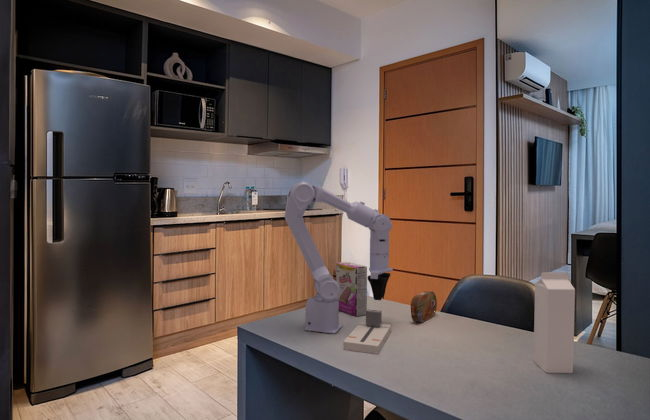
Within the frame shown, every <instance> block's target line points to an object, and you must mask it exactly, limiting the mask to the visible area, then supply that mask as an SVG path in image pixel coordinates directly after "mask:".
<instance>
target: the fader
mask: <svg viewBox="0 0 650 420" xmlns="http://www.w3.org/2000/svg"><path fill="white" fill-rule="evenodd" d="M382 312H383V311H382V310H377V309H376V310H375V309H367V311H366V315H365V322H366V326H374V327H380V326H381V324H382Z"/></svg>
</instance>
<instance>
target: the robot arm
mask: <svg viewBox="0 0 650 420" xmlns="http://www.w3.org/2000/svg"><path fill="white" fill-rule="evenodd" d="M311 203H324V204H326V205H329V206H331V207H333V208H336V209H337V210H339V211H342V212H344V213H346V216H347V219H349V220H350V221H351V222H354V223H355V224H358V225H360V226H363V227H364V228H367V229H369V230H370V231H369V233H370V234H369V235H370V237H369V268H368V269H369V270H368V271H369V272H370V275H367V282H369V285H370V287H371V292H372V293H371V294H372V296H373V300H374V301H382V298H384V297H385V294H386V288H387V285H388V281H389V279H390V278H391V272H393V270H394V268H392V267H390V231H392V228H393V223H392V220H391V218H390V217H389V216H388V215H386V214H384V213H379V210H378V209H376V208H375V209H373V208H371V207H369V206H367V205H365V204H366V203H365V202H363V201H354V202H349V201H347V200H345V199H344V198H342V197H340V196H338V195H336V194H334V193H333V192H331V191H329V190H327V189H325V188H324V187H320V186H318V185H314V184H311V183H309V182H307V181H301V182H297V183H295V184H294V185H292V186H291V187H290V189H289V191H288V193H287V196H286V205H285V212H284V219H285V221H286V223H287V225H288V227H289V230H290V231H291V234H292V236H293V238H294V240H295V242H296V244H297V246H298V248H299V250H300V252H301V254H302V257H303V259H304V261H305V263H306V265H307V267H308V269H309V271H310V273H311V277H312V278H313V287H314V289H315V291H316V294H315V295H314V296H313V297H308V299H307V300H306V304H305V328H304V330H305V331H308V332H309V331H310V332H319V333H325V334H336V333H337V332H339V330H341V329H342V327H343V326H344V324H343V323H339V321H340V319H339V315H340V312H339V297H338V295H339V293H340V286H339V284H338V282H337V281H336V279H334V277H333V276H332V275H331V272H329V270H328V268H327V266H326V265H325V262H324V260H323V258H322V255H321V254H320V252H319V250H318V247H317V246H316V244H315V241H314V239H313V237H312V235H311V233H310V231H309V229H308V227H307V224H306V222H305V221H304V219H303V217H304V215H305V212H306V211H307V207H308V206H310V204H311Z"/></svg>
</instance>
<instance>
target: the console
mask: <svg viewBox="0 0 650 420" xmlns="http://www.w3.org/2000/svg"><path fill="white" fill-rule="evenodd" d="M391 332H392V324H388V323H381V326H380V327H374V326H366V321H360V322H359V323H358V325H356V327H355V328H354V329H353V330H352V332H350V334H349V335H347V337H346V338H345V339H344V340H343V341H342V342H343V343H342V345H343V346H342V348H343V350H345V351H351V352H352V351H353V352H360V353H367V354H375V355H378V354H379V353H380V352H381V350H382V348H383V346H384V345H385V343H386V342H387V340H388V338H389V336H390V334H391Z"/></svg>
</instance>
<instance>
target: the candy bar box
mask: <svg viewBox="0 0 650 420" xmlns="http://www.w3.org/2000/svg"><path fill="white" fill-rule="evenodd" d="M367 277H368V266H366V265H362V264H358V263H353V262H348V261H341V262H336V263H335V281H337V282H338V284H339V286H340V293H339V295H338V297H339V311H340V312H342V313H344V314H348V315H351V316H353V317H356V318H358V317H362V316H366V311H367V310H368V309H367V307H368V302H367V301H368V300H367V297H368V294H367V293H368V292H367V290H368V278H367Z"/></svg>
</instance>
